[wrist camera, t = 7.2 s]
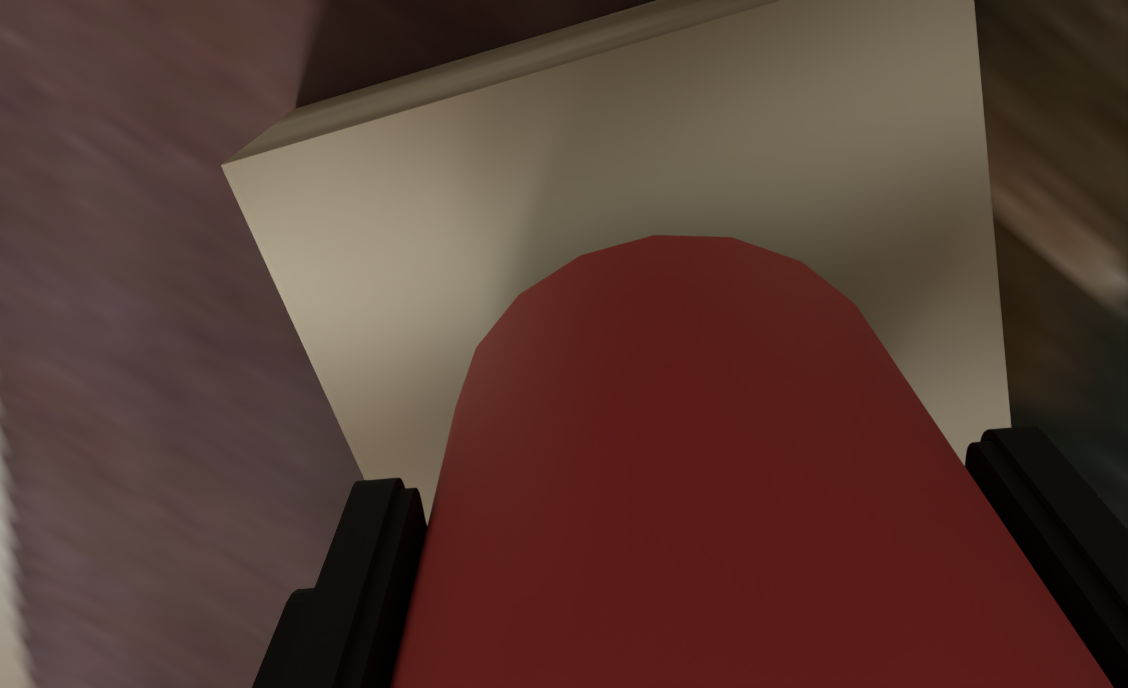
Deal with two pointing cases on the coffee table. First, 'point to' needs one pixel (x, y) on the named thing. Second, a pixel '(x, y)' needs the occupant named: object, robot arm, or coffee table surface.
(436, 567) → the beer can
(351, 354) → the birch block
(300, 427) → the coffee table surface
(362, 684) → the robot arm
